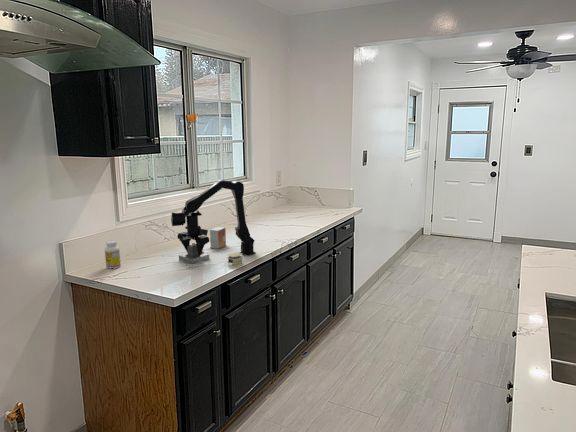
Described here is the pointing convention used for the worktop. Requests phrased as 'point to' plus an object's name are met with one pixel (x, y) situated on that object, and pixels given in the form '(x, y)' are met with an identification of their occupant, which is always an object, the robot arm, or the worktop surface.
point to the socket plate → (194, 258)
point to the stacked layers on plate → (235, 259)
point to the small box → (217, 237)
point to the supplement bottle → (112, 255)
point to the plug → (192, 250)
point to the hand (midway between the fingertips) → (194, 253)
